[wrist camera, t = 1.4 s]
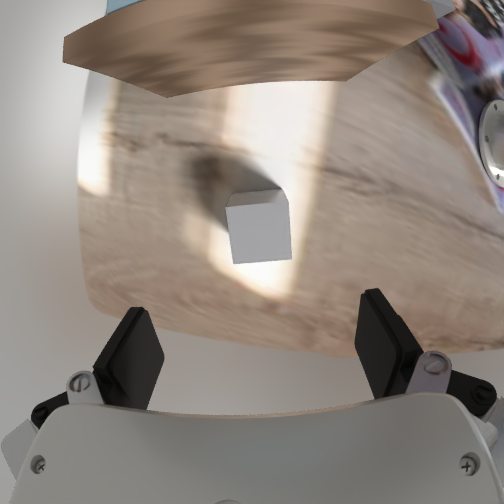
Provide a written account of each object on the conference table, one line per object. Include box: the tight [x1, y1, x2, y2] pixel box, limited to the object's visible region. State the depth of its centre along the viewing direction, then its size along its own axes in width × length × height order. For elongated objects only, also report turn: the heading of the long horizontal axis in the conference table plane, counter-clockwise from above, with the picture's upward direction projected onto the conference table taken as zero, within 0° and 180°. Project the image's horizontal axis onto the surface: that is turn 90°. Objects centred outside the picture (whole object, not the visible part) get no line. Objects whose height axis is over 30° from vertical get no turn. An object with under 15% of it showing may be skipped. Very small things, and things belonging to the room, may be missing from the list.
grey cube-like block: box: [225, 189, 292, 264], centre depth 25 cm, size 5×5×6 cm
